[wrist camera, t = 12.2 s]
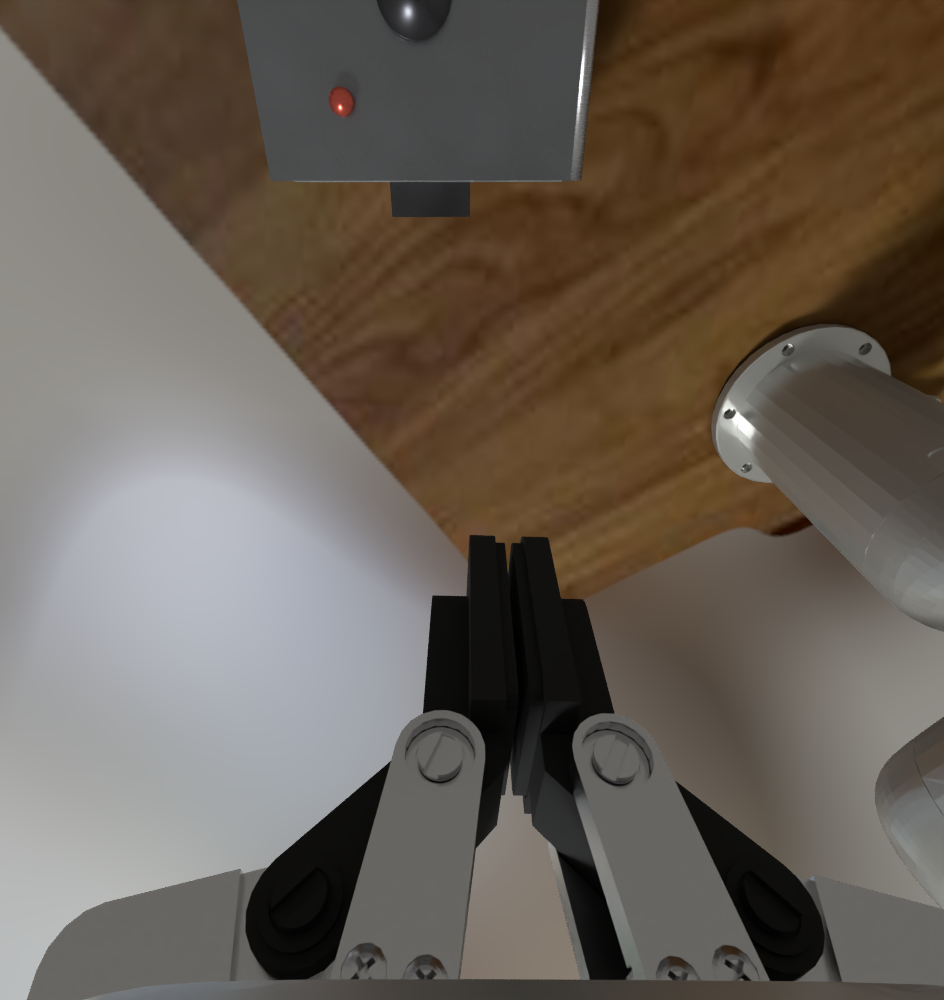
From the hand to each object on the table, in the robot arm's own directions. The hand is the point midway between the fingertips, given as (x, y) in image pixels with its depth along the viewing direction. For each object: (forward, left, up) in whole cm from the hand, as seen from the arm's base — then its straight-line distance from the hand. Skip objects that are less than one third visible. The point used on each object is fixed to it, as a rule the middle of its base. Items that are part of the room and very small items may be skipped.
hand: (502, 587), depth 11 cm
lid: (+2, -13, -21) cm, 25 cm away
